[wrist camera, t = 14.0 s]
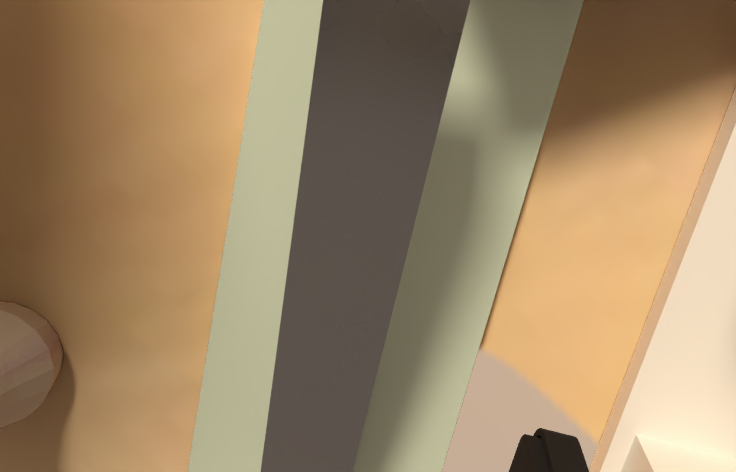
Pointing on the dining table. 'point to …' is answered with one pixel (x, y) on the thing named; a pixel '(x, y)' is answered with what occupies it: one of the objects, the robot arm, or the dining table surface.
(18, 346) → the decorative mushroom
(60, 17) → the dining table surface
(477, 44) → the mat
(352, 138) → the rail
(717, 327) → the rack
